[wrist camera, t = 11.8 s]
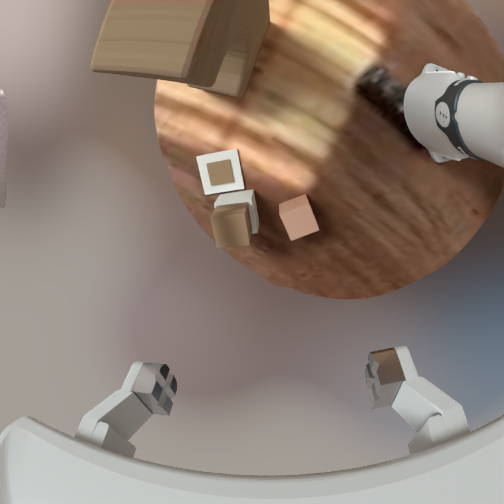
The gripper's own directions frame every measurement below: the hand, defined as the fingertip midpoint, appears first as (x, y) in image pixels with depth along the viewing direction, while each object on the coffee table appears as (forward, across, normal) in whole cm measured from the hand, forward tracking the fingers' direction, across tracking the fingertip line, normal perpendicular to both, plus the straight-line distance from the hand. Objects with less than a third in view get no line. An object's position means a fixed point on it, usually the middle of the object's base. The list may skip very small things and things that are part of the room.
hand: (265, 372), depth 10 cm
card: (+39, +9, 0) cm, 40 cm away
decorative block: (+39, +3, -20) cm, 44 cm away
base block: (+39, +7, +7) cm, 41 cm away
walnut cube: (+34, +7, +7) cm, 36 cm away
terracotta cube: (+39, -3, +9) cm, 40 cm away
